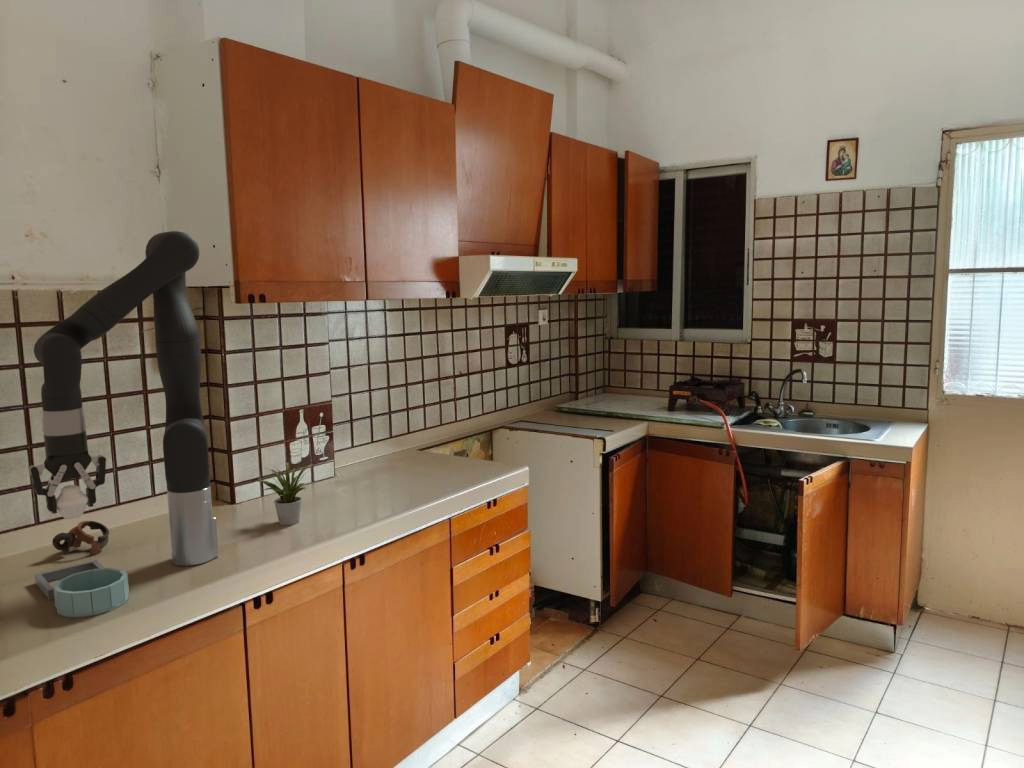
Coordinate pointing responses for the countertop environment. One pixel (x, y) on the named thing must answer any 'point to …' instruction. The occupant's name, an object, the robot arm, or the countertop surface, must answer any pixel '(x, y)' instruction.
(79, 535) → the brown looped piece
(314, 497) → the countertop surface
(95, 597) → the bowl
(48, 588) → the square frame
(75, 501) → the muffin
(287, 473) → the house plant
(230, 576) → the countertop surface
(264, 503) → the countertop surface
